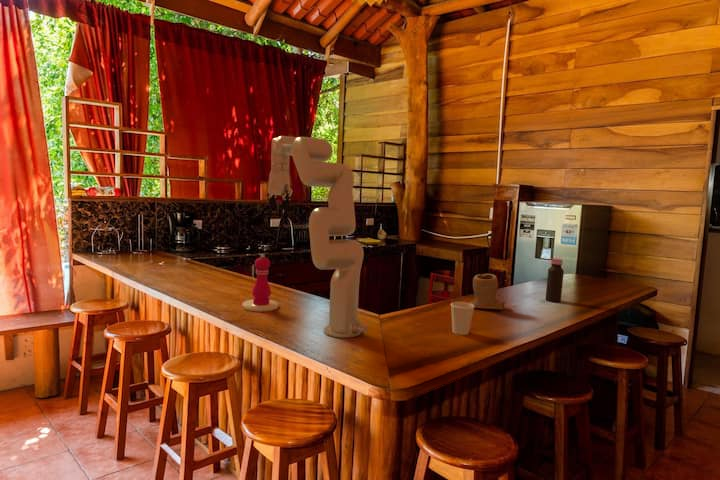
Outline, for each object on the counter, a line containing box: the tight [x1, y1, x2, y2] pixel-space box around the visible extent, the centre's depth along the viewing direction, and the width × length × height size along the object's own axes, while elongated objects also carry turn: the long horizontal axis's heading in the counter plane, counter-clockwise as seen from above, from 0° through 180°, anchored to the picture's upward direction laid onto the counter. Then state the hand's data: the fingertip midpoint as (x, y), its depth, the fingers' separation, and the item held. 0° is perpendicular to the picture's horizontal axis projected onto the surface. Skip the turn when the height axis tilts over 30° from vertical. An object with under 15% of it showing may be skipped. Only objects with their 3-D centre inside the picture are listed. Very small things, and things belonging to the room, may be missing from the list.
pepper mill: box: [251, 253, 272, 305], centre depth 187 cm, size 7×7×20 cm
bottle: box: [545, 258, 565, 303], centre depth 225 cm, size 7×7×20 cm
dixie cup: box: [450, 301, 476, 336], centre depth 167 cm, size 8×8×10 cm
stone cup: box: [468, 273, 506, 311], centre depth 203 cm, size 15×12×15 cm
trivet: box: [241, 299, 279, 313], centre depth 188 cm, size 14×14×2 cm
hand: (278, 209), depth 201 cm, fingers open, 9 cm apart
